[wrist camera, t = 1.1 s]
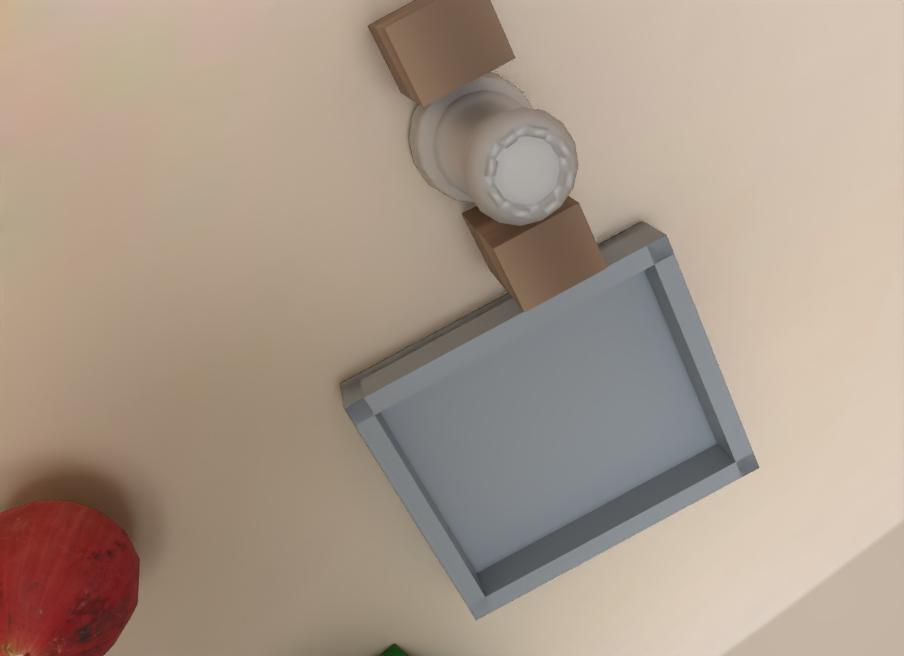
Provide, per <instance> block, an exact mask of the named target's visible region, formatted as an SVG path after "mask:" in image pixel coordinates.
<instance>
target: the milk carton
mask: <svg viewBox="0 0 904 656" xmlns="http://www.w3.org/2000/svg"><path fill="white" fill-rule="evenodd" d="M381 656H408V655H407V654H405V653H404V652H403V651H402V650H401V649H400V648H398V647H397V646H396V645H395V644H394V645H393V646H392V647H390V648H389V649H388V650H387V651H386V652H384V653H383V654H382V655H381Z"/></svg>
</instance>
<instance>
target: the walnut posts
mask: <svg viewBox="0 0 904 656" xmlns="http://www.w3.org/2000/svg"><path fill="white" fill-rule="evenodd" d="M368 27H369V29H370V31H371V33H372V35H373V37H374V39H375V41H376V43H377V45H378V47H379V49H380V51H381V53H382V55H383V57H384V59H385V61H386V63H387V65H388V67H389V69H390V71H391V73H392V75H393V77H394V79H395V81H396V83H397V85H398V87H399V89H400V91H401V93H403V94H404V95H406V96H407V97H409V98H410V99H412V100H413V101H415V102H416V103H418V104H419V105H421V106H422V107H425V106H427V105H429V104H431V103H432V102H434V101H436V100H438V99H440V98H442V97H444V96H445V95H447V94H449V93H451V92H453V91H455V90H457V89H459V88H460V87H462V86H464V85H466V84H468V83H470V82H472V81H473V80H475V79H477V78H479V77H481V76H483V75H485V74H486V73H488V72H490V71H492V70H494V69H496V68H498V67H499V66H501V65H503V64H505V63H507V62H509V61H511V60H512V59H514V58H515V56H514V54H513V51H512V49H511V47H510V44H509V42H508V40H507V38H506V35H505V33H504V31H503V28H502V26H501V24H500V22H499V19H498V17H497V15H496V12H495V10H494V8H493V6H492V3H491V1H490V0H415V1H413V2H411V3H409V4H407V5H406V6H404V7H402V8H400V9H398V10H396V11H394V12H392V13H391V14H389V15H387V16H385V17H383V18H381V19H379V20H378V21H376V22H374V23H372V24H370V25H368ZM462 215H463V217H464V219H465V221H466V223H467V225H468V227H469V229H470V231H471V233H472V235H473V237H474V239H475V241H476V243H477V245H478V247H479V249H480V251H481V253H482V255H483V257H484V259H485V261H486V263H487V265H488V267H489V269H490V271H491V272H492V273H493V274H494V275H495V277H496V278H497V279H498V280H499V282H500V283H501V284H502V285H503V287H504V288H505V289H506V290H507V291H508V293H509V294H510V295H511V296H512V298H513V299H514V300H515V301H516V302H517V304H518V305H519V306H520V307H521V309H522V310H523V311H524V312H527V311H529V310H530V309H532V308H534V307H536V306H538V305H540V304H542V303H543V302H545V301H547V300H549V299H551V298H553V297H555V296H556V295H558V294H560V293H562V292H564V291H566V290H568V289H569V288H571V287H573V286H575V285H577V284H579V283H581V282H582V281H584V280H586V279H588V278H590V277H592V276H594V275H595V274H597V273H599V272H601V271H603V270H605V269H607V266H606V264H605V262H604V259H603V257H602V255H601V252H600V250H599V248H598V246H597V243H596V241H595V239H594V236H593V234H592V232H591V230H590V227H589V225H588V223H587V220H586V218H585V216H584V214H583V211H582V209H581V207H580V204H579V203H578V202H577V201H575V200H573V199H572V198H570V197H569V196H568V197H567V198H566V200H565V201H564V203H563V204H562V206H561V207H560V208H559V209H557V210H556V211H554V212H553V213H552V214H550V215H549V216H547V217H546V218H545V219H543V220H542V221H538V222H534V223H530V224H526V225H522V226H518V225H511V224H504V223H499V222H497V221H496V220H494V219H492V218H491V217H489V216H487V215H486V214H484V213H483V212H481V211H480V210H479V208H478V207H477V206H476V207H474V208H472V209H470V210H468V211H467V212H465V213H463V214H462Z"/></svg>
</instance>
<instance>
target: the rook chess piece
mask: <svg viewBox="0 0 904 656" xmlns="http://www.w3.org/2000/svg"><path fill="white" fill-rule="evenodd" d="M409 142H410V147H411V151H412V155H413V160H414V164H415V165H416V167H417V168H418V170H419V171H420V173H421V174H422V175H423V177H424V178H425V180H426V181H427V182H428V184H429V185H431V186H433V187H434V188H436V189H437V190H439V191H441V192H442V193H444V194H446V195H447V196H449V197H451V198H452V199H454V200H459V201H465V202H472V203H475V204H476V205H477V207H478V208H479V210H480V211H481V212H483V213H484V214H486V215H487V216H489V217H491V218H492V219H494V220H496V221H497V222H499V223H504V224H511V225H518V226H522V225H526V224H530V223H534V222H538V221H542V220H543V219H545V218H546V217H547V216H549V215H550V214H552V213H553V212H554V211H556V210H557V209H559V208H560V207H561V206H562V204H563V203H564V201H565V200H566V198H567V197H568V195H569V193H570V192H571V190H572V189H573V187H574V182H575V178H576V173H577V169H578V160H577V153H576V147H575V142H574V140H573V139H572V137H571V135H570V134H569V132H568V131H567V129H566V127H565V126H564V124H563V123H562V122H560V121H559V120H557V119H556V118H554V117H553V116H551V115H550V114H549V113H547V112H546V111H543V110H537V109H533V108H532V106H531V105H530V103H529V101H528V100H527V98H526V97H525V95H524V93H523V92H522V91H521V90H519V89H518V88H516V87H515V86H513V85H512V84H511V83H509V82H508V81H506V80H505V79H503V78H502V77H500V76H499V75H497V74H494V73H486V74H485V75H483V76H481V77H479V78H477V79H475V80H473V81H472V82H470V83H468V84H466V85H464V86H462V87H460V88H459V89H457V90H455V91H453V92H451V93H449V94H447V95H445V96H444V97H442V98H440V99H438V100H436V101H434V102H432V103H431V104H429V105H427V106H425V107H422V106H421V105H419V104H418V106H417V108H416V109H415V111H414V113H413V117H412V123H411V129H410V135H409Z"/></svg>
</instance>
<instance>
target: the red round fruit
mask: <svg viewBox="0 0 904 656" xmlns="http://www.w3.org/2000/svg"><path fill="white" fill-rule="evenodd" d="M139 562H140V559H139V557H138V555H137V553H136V551H135V549H134V547H133V545H132V543H131V541H130V539H129V537H128V535H127V533H126V531H125V530H124V529H122V528H121V527H120V526H119V525H118V524H116V523H115V522H113V521H112V520H110V519H109V518H108V517H106V516H105V515H103V514H102V513H101V512H99V511H98V510H96V509H93V508H90V507H87V506H84V505H81V504H78V503H75V502H72V501H51V500H41V501H36V502H32V503H29V504H26V505H23V506H20V507H17V508H14V509H11V510H8V511H5V512H2V513H1V514H0V656H16V655H21V654H22V655H23V656H103V655H105V654H106V653H107V652H108V650H109V649H110V648H111V647H112V646H113V645H114V643H115V642H116V640H117V639H118V637H119V635H120V634H121V632H122V631H123V629H124V627H125V626H126V624H127V623H128V621H129V619H130V618H131V616H132V614H133V612H134V610H135V608H136V606H137V603H138V586H139Z"/></svg>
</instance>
